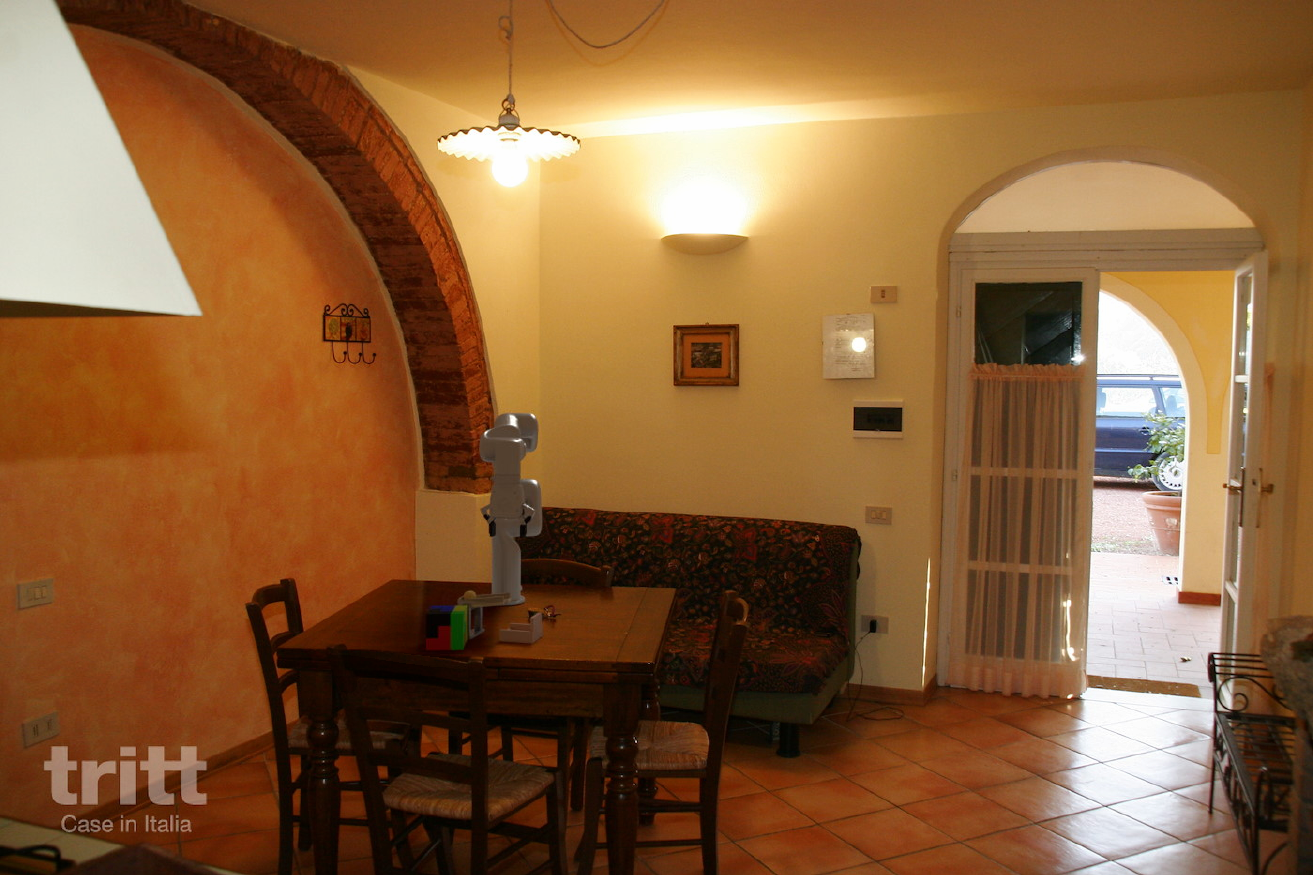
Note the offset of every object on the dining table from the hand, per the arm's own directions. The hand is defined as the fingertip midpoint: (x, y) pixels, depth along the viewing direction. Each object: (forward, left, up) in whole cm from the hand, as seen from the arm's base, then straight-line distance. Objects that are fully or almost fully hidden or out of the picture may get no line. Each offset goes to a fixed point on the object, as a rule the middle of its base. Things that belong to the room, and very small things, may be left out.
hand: (507, 536), depth 283 cm
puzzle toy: (+25, -8, -27) cm, 38 cm away
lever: (+10, -4, -22) cm, 25 cm away
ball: (+13, -6, -16) cm, 21 cm away
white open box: (+13, +9, -27) cm, 31 cm away
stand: (+13, -6, -27) cm, 30 cm away
